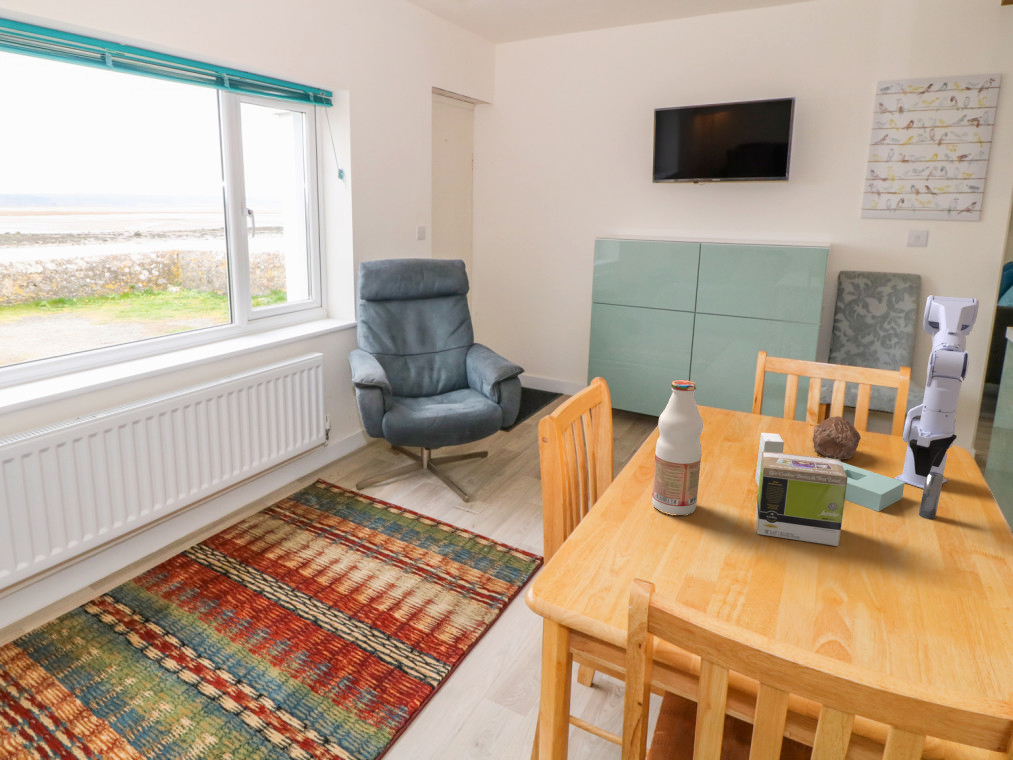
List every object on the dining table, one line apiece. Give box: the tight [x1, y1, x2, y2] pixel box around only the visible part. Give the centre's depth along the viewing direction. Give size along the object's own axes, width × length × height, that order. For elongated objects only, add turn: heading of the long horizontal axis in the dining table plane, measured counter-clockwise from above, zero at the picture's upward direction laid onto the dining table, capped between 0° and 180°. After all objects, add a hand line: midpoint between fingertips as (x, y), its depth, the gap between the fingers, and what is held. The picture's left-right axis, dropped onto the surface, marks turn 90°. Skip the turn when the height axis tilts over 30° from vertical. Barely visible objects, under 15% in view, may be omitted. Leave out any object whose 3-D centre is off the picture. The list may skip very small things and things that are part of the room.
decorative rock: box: [812, 415, 862, 461], centre depth 172 cm, size 13×11×10 cm
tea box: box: [756, 451, 848, 547], centre depth 131 cm, size 15×10×15 cm
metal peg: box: [918, 472, 945, 520], centre depth 138 cm, size 3×3×10 cm
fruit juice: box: [651, 379, 704, 516], centre depth 139 cm, size 9×9×28 cm
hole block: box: [841, 461, 906, 512], centre depth 151 cm, size 11×18×4 cm, turn 36°
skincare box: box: [754, 432, 785, 488], centre depth 153 cm, size 6×4×12 cm
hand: (927, 470), depth 137 cm, fingers open, 7 cm apart
